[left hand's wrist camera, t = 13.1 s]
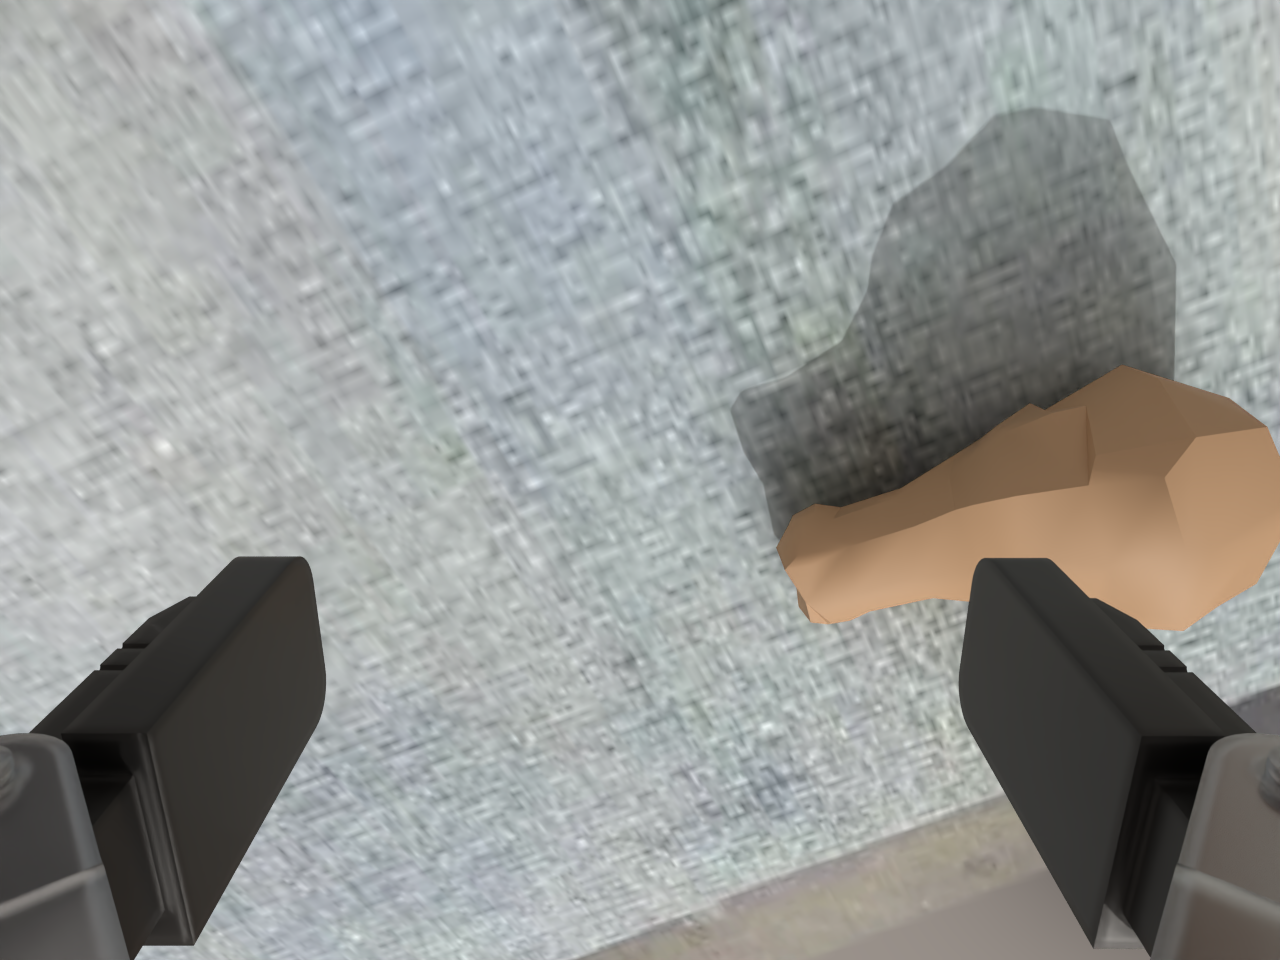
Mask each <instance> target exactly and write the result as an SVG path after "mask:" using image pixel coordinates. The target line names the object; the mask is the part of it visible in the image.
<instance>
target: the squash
mask: <svg viewBox="0 0 1280 960" xmlns="http://www.w3.org/2000/svg"><path fill="white" fill-rule="evenodd" d="M1279 542H1280V456H1279V454H1278V452H1277V449H1276V447H1275V444H1274V442H1273V440H1272V437H1271V435H1270V432H1269V430H1268V428H1267V426H1265V425H1264V424H1263V423H1261V422H1260V421H1259V420H1257V419H1256V418H1255V417H1253V416H1252V415H1251V414H1249V413H1248V412H1247V411H1245V410H1244V409H1243V408H1241V407H1240V406H1239V405H1238V404H1236V403H1235V402H1234V401H1232V400H1231V399H1230V398H1227V397H1224V396H1221V395H1217V394H1214V393H1211V392H1208V391H1205V390H1201V389H1198V388H1195V387H1192V386H1189V385H1186V384H1182V383H1179V382H1176V381H1173V380H1170V379H1166V378H1163V377H1160V376H1157V375H1154V374H1150V373H1147V372H1144V371H1141V370H1138V369H1134V368H1131V367H1128V366H1125V365H1120V366H1119V367H1117V368H1115V369H1114V370H1112V371H1110V372H1109V373H1107V374H1105V375H1103V376H1102V377H1100V378H1098V379H1097V380H1095V381H1093V382H1092V383H1090V384H1088V385H1087V386H1085V387H1083V388H1081V389H1080V390H1078V391H1076V392H1075V393H1073V394H1071V395H1070V396H1068V397H1066V398H1064V399H1063V400H1061V401H1059V402H1058V403H1056V404H1054V405H1053V406H1051V407H1049V408H1047V409H1046V410H1044V409H1042V408H1039V407H1037V406H1035V405H1033V404H1031V403H1030V404H1028V405H1027V406H1025V407H1024V408H1022V409H1021V410H1019V411H1018V412H1016V413H1015V414H1013V415H1012V416H1010V417H1009V418H1007V419H1006V420H1004V421H1003V422H1002V423H1000V424H999V425H997V426H996V427H994V428H993V429H992V430H991V431H989V432H988V433H987V434H986V435H984V436H983V437H982V438H981V439H979V440H978V441H976V442H974V443H973V444H971V445H970V446H968V447H966V448H965V449H963V450H962V451H960V452H958V453H957V454H955V455H954V456H952V457H950V458H949V459H947V460H946V461H944V462H942V463H941V464H939V465H937V466H936V467H934V468H933V469H931V470H929V471H928V472H926V473H925V474H923V475H921V476H920V477H918V478H916V479H915V480H913V481H912V482H910V483H908V484H907V485H905V486H904V487H902V488H900V489H897V490H893V491H890V492H887V493H884V494H881V495H878V496H875V497H872V498H869V499H865V500H862V501H859V502H856V503H853V504H850V505H847V506H844V507H835V506H828V505H821V504H813V505H811V506H810V507H808V508H806V509H804V510H802V511H800V512H798V513H796V514H794V515H793V516H792V518H791V521H790V523H789V525H788V527H787V529H786V531H785V532H784V534H783V536H782V538H781V540H780V542H779V544H778V546H777V547H776V548H777V551H778V553H779V556H780V558H781V561H782V563H783V566H784V569H785V571H786V572H787V574H788V575H789V577H790V579H791V580H792V582H793V583H794V585H795V586H796V588H797V596H798V604H799V608H800V609H801V610H802V611H803V613H804V614H805V615H806V617H807V618H808V619H809V621H810V622H812V623H822V624H832V623H838V622H844V621H850V620H852V619H855V618H857V617H859V616H861V615H863V614H865V613H867V612H869V611H874V610H878V609H883V608H888V607H893V606H897V605H902V604H907V603H911V602H916V601H921V600H925V599H930V598H939V599H949V600H959V601H969V599H970V592H971V585H972V579H973V574H974V570H975V568H976V565H977V564H978V562H979V561H980V560H981V559H983V558H1048V559H1051V560H1052V561H1053V562H1054V563H1055V564H1056V565H1057V566H1058V567H1059V568H1060V569H1061V570H1062V571H1063V572H1064V573H1065V574H1066V575H1067V576H1068V577H1069V578H1070V579H1071V580H1072V581H1073V582H1074V583H1075V584H1076V585H1077V586H1078V587H1079V588H1080V589H1081V590H1082V591H1083V592H1084V593H1085V594H1086V595H1087V596H1088V597H1089V598H1097V599H1099V600H1101V601H1103V602H1105V603H1106V604H1108V605H1110V606H1112V607H1114V608H1116V609H1118V610H1120V611H1121V612H1123V613H1125V614H1127V615H1129V616H1131V617H1133V618H1135V619H1136V620H1138V621H1139V622H1140V623H1141V624H1142V625H1143V626H1144V627H1145V628H1146V629H1162V630H1178V631H1184V630H1185V629H1187V628H1188V627H1190V626H1191V625H1192V624H1194V623H1195V622H1197V621H1198V620H1199V619H1201V618H1202V617H1204V616H1205V615H1206V614H1208V613H1209V612H1211V611H1212V610H1213V609H1215V608H1216V607H1218V606H1219V605H1221V604H1223V603H1224V602H1226V601H1228V600H1229V599H1231V598H1233V597H1235V596H1236V595H1238V594H1240V593H1241V592H1243V591H1245V590H1246V589H1248V588H1250V587H1251V586H1253V585H1255V584H1257V582H1258V580H1259V578H1260V576H1261V574H1262V573H1263V571H1264V569H1265V567H1266V565H1267V564H1268V562H1269V560H1270V558H1271V556H1272V555H1273V553H1274V551H1275V549H1276V547H1277V546H1278V544H1279Z"/></svg>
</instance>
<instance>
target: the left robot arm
mask: <svg viewBox="0 0 1280 960" xmlns="http://www.w3.org/2000/svg"><path fill="white" fill-rule="evenodd" d="M325 692H326V671H325V663H324V656H323V648H322V641H321V634H320V627H319V619H318V612H317V605H316V597H315V590H314V583H313V577H312V572H311V569H310V566H309V564H308V562H307V561H306V560H305V559H304V558H303V557H236V558H235V559H233V560H232V561H231V562H230V563H229V564H228V565H227V566H226V567H225V568H224V569H223V570H222V571H221V572H220V573H219V574H218V575H217V576H216V577H215V578H214V579H213V580H212V581H211V582H210V583H209V584H208V585H207V586H206V587H205V588H204V589H203V590H202V591H201V592H200V593H199V594H198V595H197V596H196V597H188V598H186V599H184V600H182V601H180V602H178V603H177V604H175V605H173V606H171V607H169V608H167V609H165V610H163V611H162V612H160V613H158V614H156V615H154V616H152V617H150V618H149V619H148V620H147V621H146V622H145V623H144V624H142V625H141V626H140V627H139V628H138V629H137V630H136V631H135V632H134V633H133V634H132V635H131V636H130V637H129V638H128V639H127V640H126V641H125V642H124V643H123V647H122V649H116V650H115V651H114V652H113V653H112V654H111V655H110V656H109V657H108V658H107V659H106V660H105V661H104V662H103V663H102V664H101V665H100V670H94V671H93V672H92V673H91V674H90V675H89V676H88V677H87V678H86V679H85V680H84V681H83V682H82V683H81V684H80V685H79V686H78V687H77V688H76V689H74V690H73V691H72V692H71V693H70V694H69V695H68V696H67V697H66V698H65V699H64V700H63V701H62V702H61V703H60V704H59V705H58V706H57V707H56V708H55V709H54V710H52V711H51V712H50V713H49V714H48V715H47V716H46V717H45V718H44V719H43V720H42V721H41V722H40V723H39V724H38V725H37V726H36V727H35V728H34V729H33V730H32V731H31V732H29V733H18V734H9V735H2V736H0V960H134V959H135V957H136V956H137V954H138V952H139V951H140V949H141V948H142V946H194V944H195V943H196V941H197V939H198V937H199V935H200V934H201V932H202V930H203V928H204V926H205V925H206V923H207V921H208V919H209V918H210V916H211V914H212V912H213V910H214V909H215V907H216V905H217V903H218V901H219V900H220V898H221V896H222V894H223V893H224V891H225V889H226V887H227V885H228V884H229V882H230V880H231V878H232V876H233V875H234V873H235V871H236V869H237V868H238V866H239V864H240V862H241V860H242V859H243V857H244V855H245V853H246V851H247V850H248V848H249V846H250V844H251V843H252V841H253V839H254V837H255V835H256V834H257V832H258V830H259V828H260V826H261V825H262V823H263V821H264V819H265V818H266V816H267V814H268V812H269V810H270V809H271V807H272V805H273V803H274V801H275V800H276V798H277V796H278V794H279V793H280V791H281V789H282V787H283V785H284V784H285V782H286V780H287V778H288V777H289V775H290V773H291V771H292V769H293V768H294V766H295V764H296V762H297V760H298V759H299V757H300V755H301V753H302V752H303V750H304V748H305V746H306V744H307V743H308V741H309V739H310V737H311V735H312V734H313V732H314V730H315V728H316V727H317V724H318V722H319V720H320V717H321V714H322V711H323V706H324V701H325ZM959 696H960V703H961V708H962V713H963V716H964V719H965V722H966V724H967V726H968V728H969V730H970V732H971V734H972V735H973V737H974V739H975V741H976V742H977V744H978V746H979V748H980V749H981V751H982V753H983V755H984V757H985V758H986V760H987V762H988V764H989V765H990V767H991V769H992V771H993V772H994V774H995V776H996V778H997V779H998V781H999V783H1000V785H1001V787H1002V788H1003V790H1004V792H1005V794H1006V795H1007V797H1008V799H1009V801H1010V802H1011V804H1012V806H1013V808H1014V809H1015V811H1016V813H1017V815H1018V817H1019V818H1020V820H1021V822H1022V824H1023V825H1024V827H1025V829H1026V831H1027V832H1028V834H1029V836H1030V838H1031V839H1032V841H1033V843H1034V845H1035V846H1036V848H1037V850H1038V852H1039V854H1040V855H1041V857H1042V859H1043V861H1044V862H1045V864H1046V866H1047V868H1048V869H1049V871H1050V873H1051V875H1052V876H1053V878H1054V880H1055V882H1056V884H1057V885H1058V887H1059V889H1060V891H1061V892H1062V894H1063V896H1064V898H1065V899H1066V901H1067V903H1068V905H1069V906H1070V908H1071V910H1072V912H1073V913H1074V915H1075V917H1076V919H1077V920H1078V922H1079V924H1080V926H1081V927H1082V929H1083V931H1084V933H1085V935H1086V936H1087V938H1088V940H1089V942H1090V943H1091V945H1092V947H1093V949H1146V951H1147V953H1148V954H1149V956H1150V957H1151V958H1150V960H1280V736H1278V735H1271V734H1262V733H1256V732H1255V731H1254V730H1253V729H1252V728H1251V727H1250V726H1249V725H1248V724H1247V723H1246V722H1244V721H1243V720H1242V719H1241V718H1240V717H1239V716H1238V715H1237V714H1236V713H1235V712H1234V711H1233V710H1232V709H1231V708H1230V707H1229V706H1228V705H1227V704H1225V703H1224V702H1223V701H1222V700H1221V699H1220V698H1219V697H1218V696H1217V695H1216V694H1215V693H1214V692H1213V691H1212V690H1211V689H1210V688H1209V687H1208V686H1206V685H1205V684H1204V683H1203V682H1202V681H1201V680H1200V679H1199V678H1198V677H1197V676H1196V675H1195V674H1194V673H1193V672H1187V667H1186V666H1185V665H1184V664H1183V663H1182V662H1181V661H1180V660H1179V659H1178V658H1177V657H1176V656H1175V655H1174V654H1173V653H1172V652H1171V651H1165V650H1164V645H1163V644H1162V643H1161V642H1160V641H1159V640H1158V639H1157V638H1156V637H1155V636H1154V635H1153V634H1152V633H1150V632H1149V631H1148V630H1147V629H1146V628H1145V627H1144V626H1143V625H1142V624H1141V623H1140V622H1139V621H1138V620H1136V619H1135V618H1133V617H1131V616H1129V615H1127V614H1125V613H1123V612H1121V611H1120V610H1118V609H1116V608H1114V607H1112V606H1110V605H1108V604H1106V603H1105V602H1103V601H1101V600H1099V599H1097V598H1089V597H1088V596H1087V595H1086V594H1085V593H1084V592H1083V591H1082V590H1081V589H1080V588H1079V587H1078V586H1077V585H1076V584H1075V583H1074V582H1073V581H1072V580H1071V579H1070V578H1069V577H1068V576H1067V575H1066V574H1065V573H1064V572H1063V571H1062V570H1061V569H1060V568H1059V567H1058V566H1057V565H1056V564H1055V563H1054V562H1053V561H1052V560H1051V559H1048V558H983V559H981V560H980V561H979V562H978V564H977V565H976V568H975V570H974V574H973V579H972V585H971V592H970V599H969V606H968V613H967V620H966V628H965V635H964V642H963V649H962V656H961V663H960V671H959Z"/></svg>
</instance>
